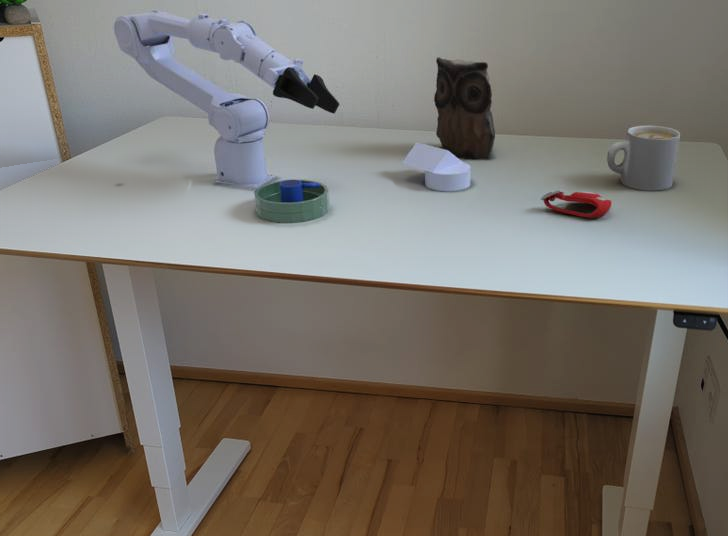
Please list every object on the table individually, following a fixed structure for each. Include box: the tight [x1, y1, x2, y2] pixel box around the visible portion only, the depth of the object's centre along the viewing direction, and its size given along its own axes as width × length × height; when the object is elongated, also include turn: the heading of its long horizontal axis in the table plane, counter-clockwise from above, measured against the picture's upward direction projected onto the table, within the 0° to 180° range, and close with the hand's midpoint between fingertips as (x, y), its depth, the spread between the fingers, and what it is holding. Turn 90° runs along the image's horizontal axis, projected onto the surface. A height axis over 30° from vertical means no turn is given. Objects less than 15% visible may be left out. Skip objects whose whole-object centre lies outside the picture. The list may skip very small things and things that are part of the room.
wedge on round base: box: [401, 141, 472, 192], centre depth 158 cm, size 9×7×13 cm
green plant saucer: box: [253, 179, 330, 224], centre depth 145 cm, size 13×13×4 cm
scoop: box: [280, 179, 320, 203], centre depth 144 cm, size 7×4×5 cm, turn 98°
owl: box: [433, 56, 496, 160], centre depth 172 cm, size 13×13×20 cm
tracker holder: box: [540, 189, 612, 219], centre depth 144 cm, size 12×4×10 cm
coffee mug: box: [606, 125, 681, 192], centre depth 156 cm, size 13×10×10 cm
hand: (326, 106), depth 142 cm, fingers open, 7 cm apart
